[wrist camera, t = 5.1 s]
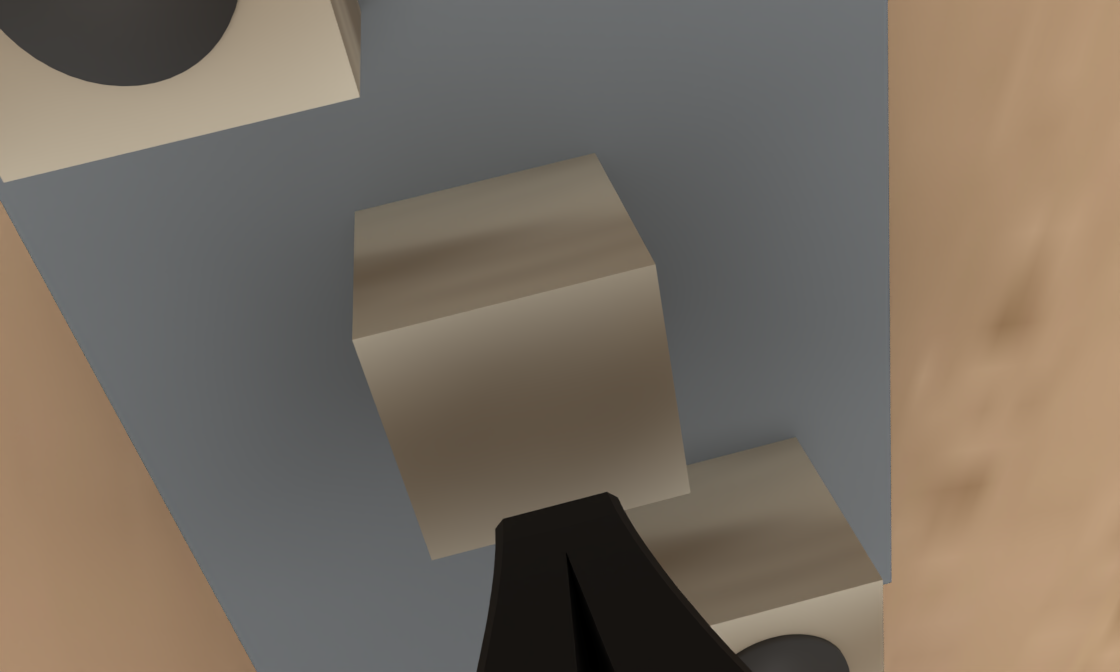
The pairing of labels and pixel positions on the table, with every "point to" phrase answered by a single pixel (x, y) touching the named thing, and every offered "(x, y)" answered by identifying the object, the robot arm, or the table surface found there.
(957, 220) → the table surface
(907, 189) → the table surface
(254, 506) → the tapping mat
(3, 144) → the dotted block
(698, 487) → the dotted block
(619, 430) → the plain block
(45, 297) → the table surface
